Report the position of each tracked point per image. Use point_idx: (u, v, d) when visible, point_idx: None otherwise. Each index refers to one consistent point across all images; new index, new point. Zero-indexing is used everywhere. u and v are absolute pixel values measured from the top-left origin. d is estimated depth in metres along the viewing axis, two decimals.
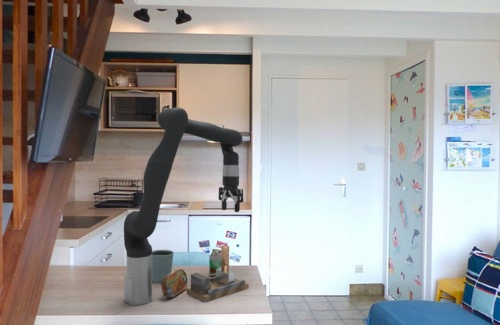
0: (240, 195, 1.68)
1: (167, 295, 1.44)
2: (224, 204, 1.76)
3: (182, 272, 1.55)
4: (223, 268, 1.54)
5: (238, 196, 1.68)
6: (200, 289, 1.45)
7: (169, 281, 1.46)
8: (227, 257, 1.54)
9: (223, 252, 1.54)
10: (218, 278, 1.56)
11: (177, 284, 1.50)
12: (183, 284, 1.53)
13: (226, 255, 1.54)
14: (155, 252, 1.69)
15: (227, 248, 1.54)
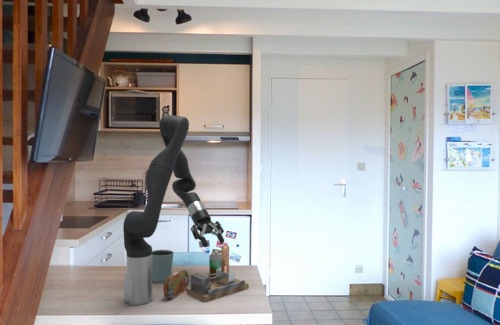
0: None
1: (168, 296, 1.44)
2: None
3: (185, 273, 1.54)
4: (223, 268, 1.54)
5: (220, 226, 1.68)
6: (200, 289, 1.45)
7: (172, 282, 1.46)
8: (227, 257, 1.54)
9: (223, 252, 1.54)
10: (218, 278, 1.56)
11: (178, 285, 1.50)
12: (184, 285, 1.53)
13: (226, 255, 1.54)
14: (155, 252, 1.69)
15: (227, 248, 1.54)
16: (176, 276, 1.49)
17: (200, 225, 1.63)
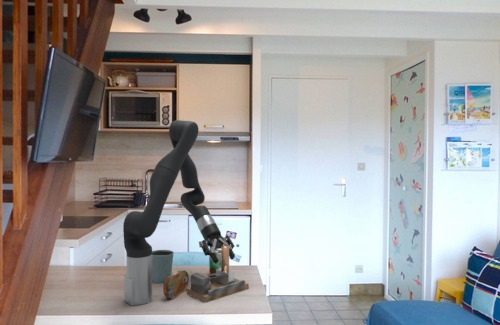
0: None
1: (168, 296, 1.44)
2: None
3: (185, 273, 1.54)
4: (223, 268, 1.54)
5: (230, 241, 1.63)
6: (200, 289, 1.45)
7: (172, 282, 1.46)
8: (227, 257, 1.54)
9: (223, 252, 1.54)
10: (218, 278, 1.56)
11: (178, 286, 1.50)
12: (184, 285, 1.53)
13: (226, 255, 1.54)
14: (155, 252, 1.69)
15: (227, 248, 1.54)
16: (176, 276, 1.49)
17: (210, 240, 1.58)
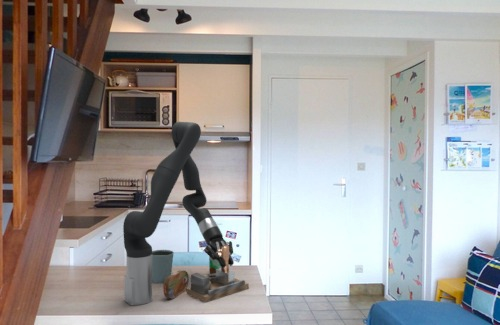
0: None
1: (168, 296, 1.44)
2: None
3: (185, 273, 1.54)
4: (223, 268, 1.54)
5: (231, 247, 1.60)
6: (200, 289, 1.45)
7: (172, 282, 1.46)
8: (227, 257, 1.54)
9: (223, 252, 1.54)
10: (218, 278, 1.56)
11: (178, 286, 1.50)
12: (184, 285, 1.53)
13: (226, 255, 1.54)
14: (155, 252, 1.69)
15: (227, 248, 1.54)
16: (176, 276, 1.49)
17: (212, 243, 1.57)
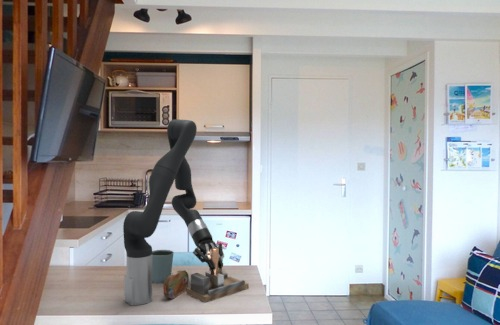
0: None
1: (168, 296, 1.44)
2: None
3: (185, 273, 1.55)
4: (212, 271, 1.51)
5: (221, 249, 1.57)
6: (200, 289, 1.45)
7: (172, 282, 1.46)
8: (216, 260, 1.51)
9: (212, 254, 1.50)
10: None
11: (178, 286, 1.50)
12: (184, 285, 1.53)
13: (216, 258, 1.50)
14: (155, 252, 1.69)
15: (216, 250, 1.51)
16: (176, 276, 1.49)
17: (201, 245, 1.53)
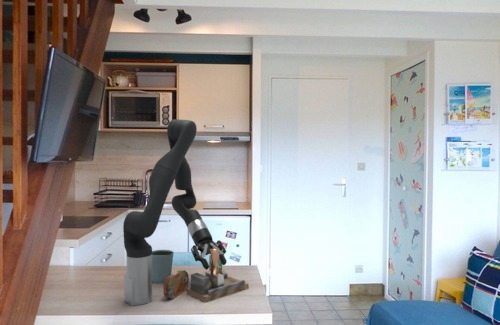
0: None
1: (168, 296, 1.44)
2: None
3: (185, 273, 1.54)
4: (212, 271, 1.51)
5: (222, 246, 1.58)
6: (200, 289, 1.45)
7: (172, 282, 1.46)
8: (216, 260, 1.51)
9: (212, 254, 1.50)
10: None
11: (178, 286, 1.50)
12: (184, 285, 1.53)
13: (216, 258, 1.50)
14: (155, 252, 1.69)
15: (216, 250, 1.51)
16: (176, 276, 1.49)
17: (201, 245, 1.53)
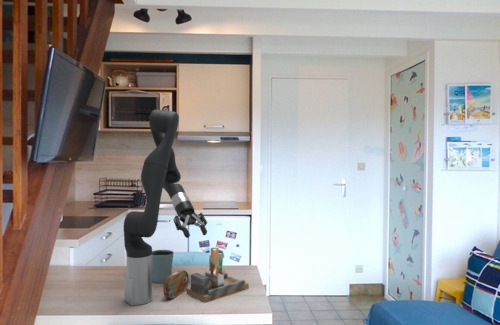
0: None
1: (168, 296, 1.44)
2: None
3: (185, 273, 1.55)
4: (212, 271, 1.51)
5: (204, 218, 1.67)
6: (200, 289, 1.45)
7: (172, 282, 1.46)
8: (216, 260, 1.51)
9: (212, 254, 1.50)
10: None
11: (178, 285, 1.50)
12: (184, 285, 1.53)
13: (216, 258, 1.50)
14: (155, 252, 1.69)
15: (216, 250, 1.51)
16: (176, 276, 1.49)
17: (183, 216, 1.62)
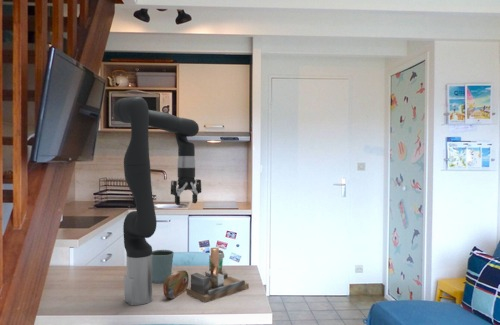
0: None
1: (168, 296, 1.44)
2: None
3: (185, 273, 1.54)
4: (212, 271, 1.51)
5: (200, 186, 1.69)
6: (200, 289, 1.45)
7: (172, 282, 1.46)
8: (216, 260, 1.51)
9: (212, 254, 1.50)
10: None
11: (178, 286, 1.50)
12: (184, 285, 1.53)
13: (216, 258, 1.50)
14: (155, 252, 1.69)
15: (216, 250, 1.51)
16: (176, 276, 1.49)
17: (181, 182, 1.63)
